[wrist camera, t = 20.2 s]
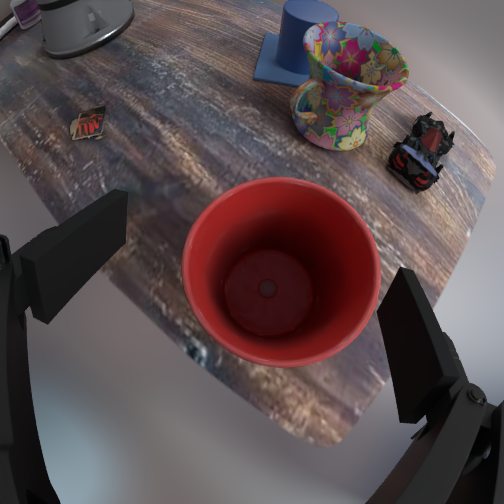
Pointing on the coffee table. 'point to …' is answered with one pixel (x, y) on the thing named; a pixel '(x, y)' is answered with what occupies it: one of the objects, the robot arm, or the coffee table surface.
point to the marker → (8, 26)
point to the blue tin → (300, 31)
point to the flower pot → (281, 272)
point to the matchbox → (89, 123)
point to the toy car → (421, 153)
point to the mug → (344, 83)
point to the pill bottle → (26, 12)
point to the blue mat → (275, 65)
